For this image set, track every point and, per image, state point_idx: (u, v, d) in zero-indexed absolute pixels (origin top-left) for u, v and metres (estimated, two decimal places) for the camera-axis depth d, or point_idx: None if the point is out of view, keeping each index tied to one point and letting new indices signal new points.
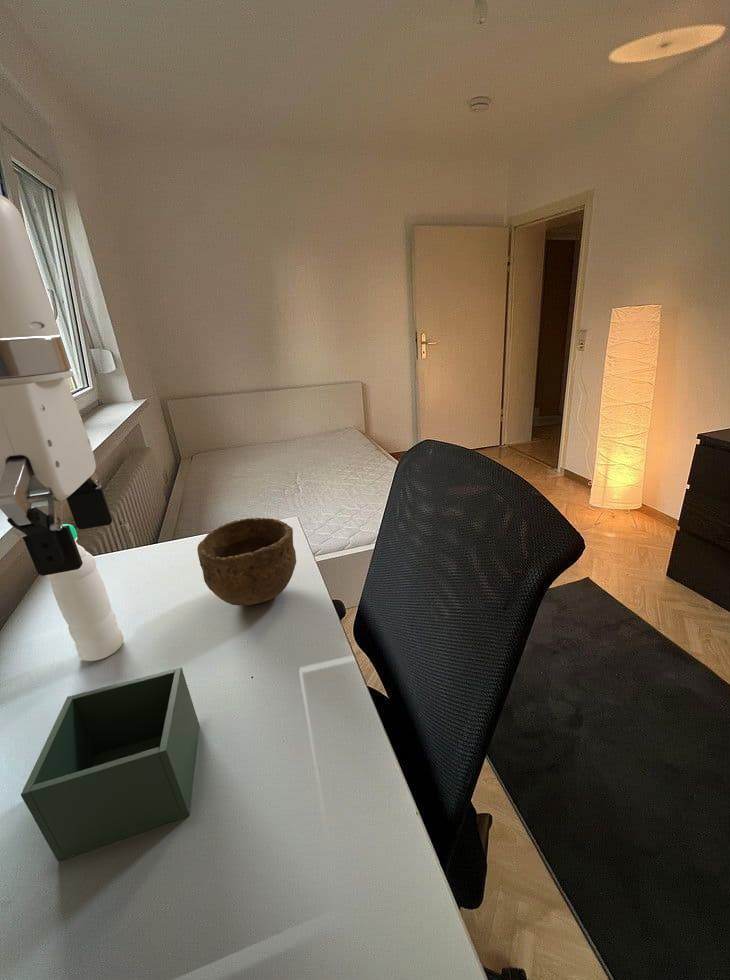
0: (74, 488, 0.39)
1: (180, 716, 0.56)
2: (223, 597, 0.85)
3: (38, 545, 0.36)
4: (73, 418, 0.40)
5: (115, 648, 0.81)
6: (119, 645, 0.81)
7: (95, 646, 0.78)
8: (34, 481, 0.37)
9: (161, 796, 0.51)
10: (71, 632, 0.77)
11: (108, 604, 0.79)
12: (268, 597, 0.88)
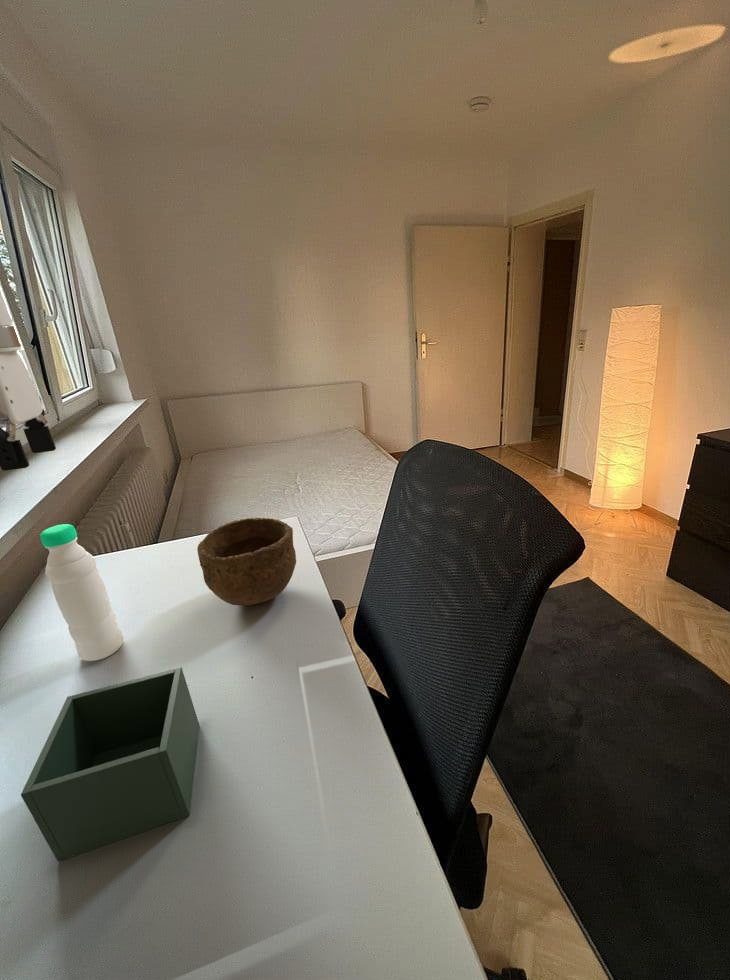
0: (24, 419, 0.64)
1: (180, 716, 0.56)
2: (223, 597, 0.85)
3: (0, 450, 0.61)
4: (24, 377, 0.65)
5: (115, 648, 0.81)
6: (119, 645, 0.81)
7: (95, 646, 0.78)
8: None
9: (161, 796, 0.51)
10: (71, 632, 0.77)
11: (108, 604, 0.79)
12: (268, 597, 0.88)
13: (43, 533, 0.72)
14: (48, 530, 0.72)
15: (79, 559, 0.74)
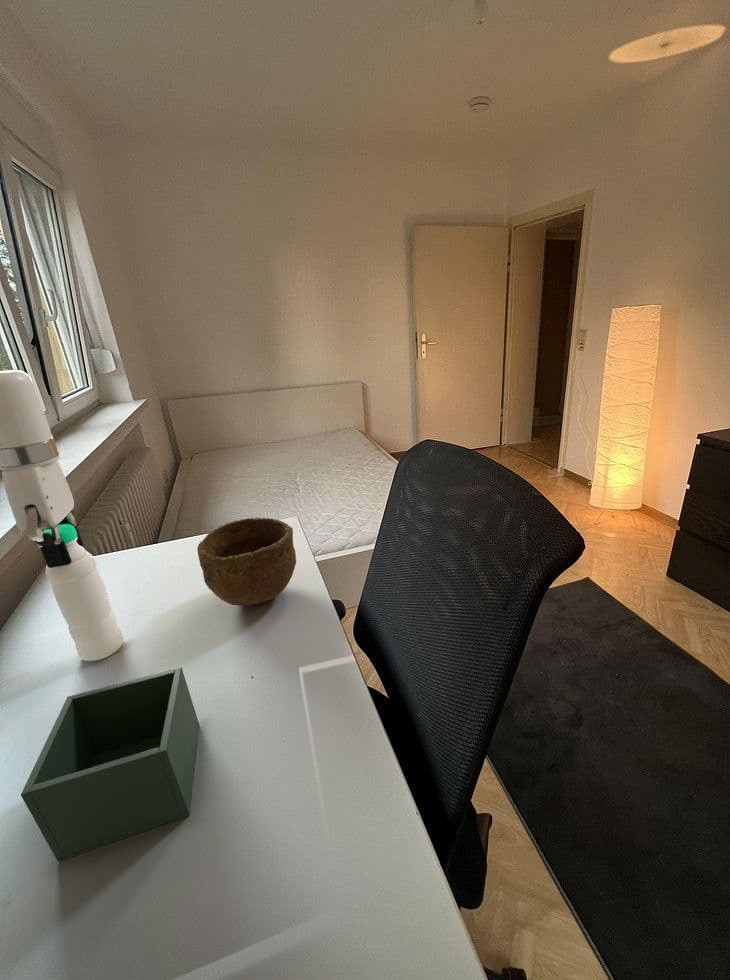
0: (60, 519, 0.71)
1: (180, 716, 0.56)
2: (223, 597, 0.85)
3: (48, 552, 0.70)
4: (60, 480, 0.72)
5: (115, 648, 0.81)
6: (119, 645, 0.81)
7: (95, 646, 0.78)
8: None
9: (161, 796, 0.51)
10: (71, 632, 0.77)
11: (108, 604, 0.79)
12: (268, 597, 0.88)
13: None
14: (48, 530, 0.72)
15: (80, 559, 0.74)
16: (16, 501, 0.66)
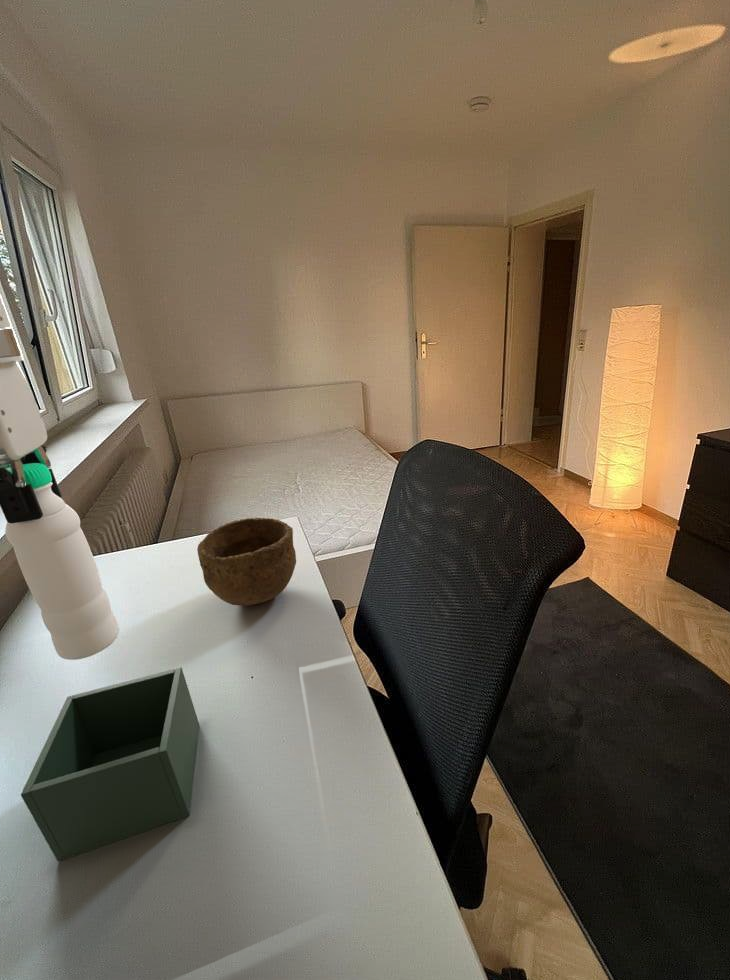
0: (25, 451, 0.48)
1: (180, 716, 0.56)
2: (223, 597, 0.85)
3: (6, 498, 0.47)
4: (25, 395, 0.49)
5: (108, 641, 0.58)
6: (113, 637, 0.59)
7: (80, 638, 0.55)
8: None
9: (161, 796, 0.51)
10: (45, 619, 0.54)
11: (98, 580, 0.57)
12: (268, 597, 0.88)
13: None
14: (9, 469, 0.50)
15: (56, 513, 0.52)
16: None
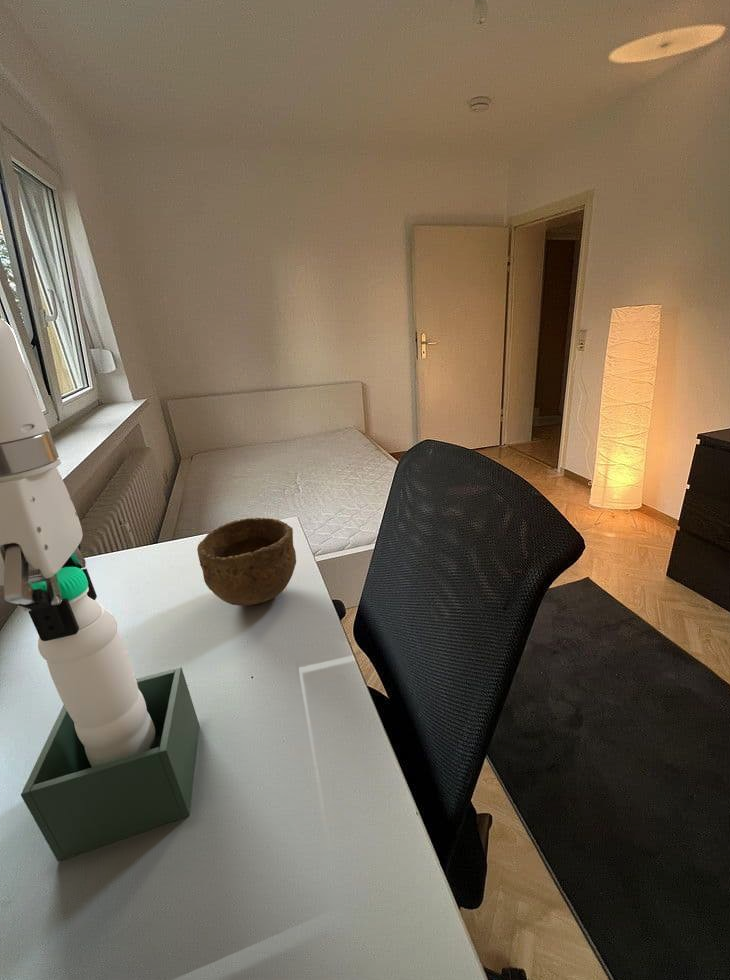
0: (62, 564, 0.43)
1: (180, 716, 0.56)
2: (223, 597, 0.85)
3: (41, 617, 0.43)
4: (61, 498, 0.45)
5: (145, 750, 0.53)
6: (150, 744, 0.54)
7: (115, 751, 0.51)
8: None
9: (161, 796, 0.51)
10: (79, 733, 0.49)
11: (135, 685, 0.52)
12: (268, 597, 0.88)
13: (34, 584, 0.44)
14: None
15: (92, 622, 0.47)
16: None
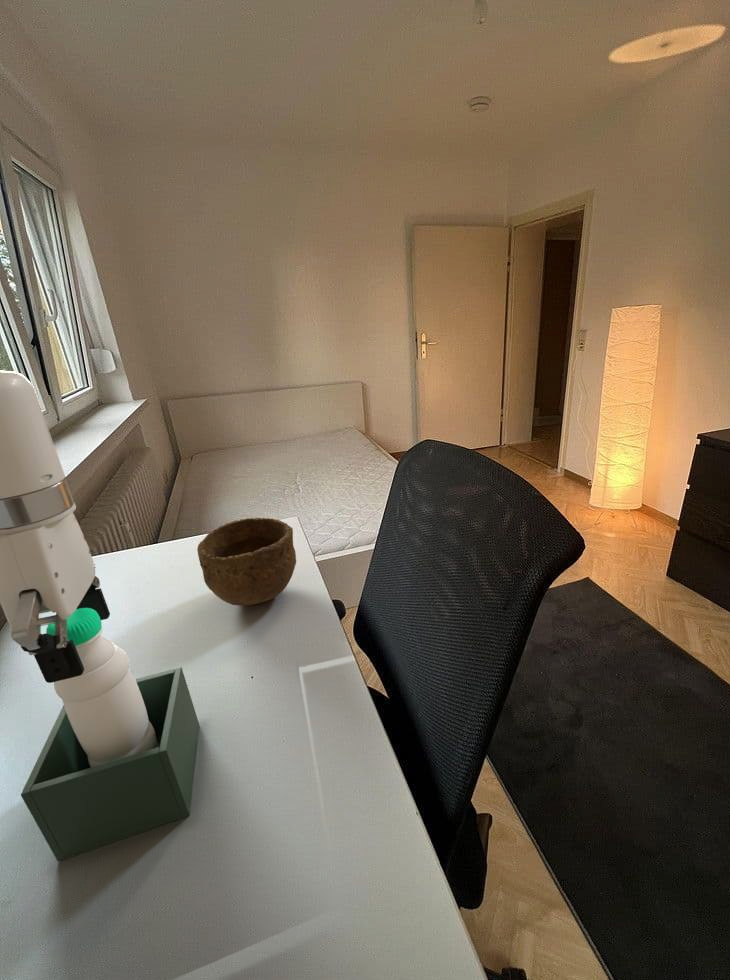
0: (77, 604, 0.45)
1: (180, 716, 0.56)
2: (223, 597, 0.85)
3: (46, 661, 0.42)
4: (76, 540, 0.46)
5: None
6: None
7: None
8: (43, 604, 0.43)
9: (161, 796, 0.51)
10: (93, 766, 0.51)
11: (145, 718, 0.54)
12: (268, 597, 0.88)
13: (51, 628, 0.46)
14: None
15: (106, 662, 0.49)
16: (6, 585, 0.40)
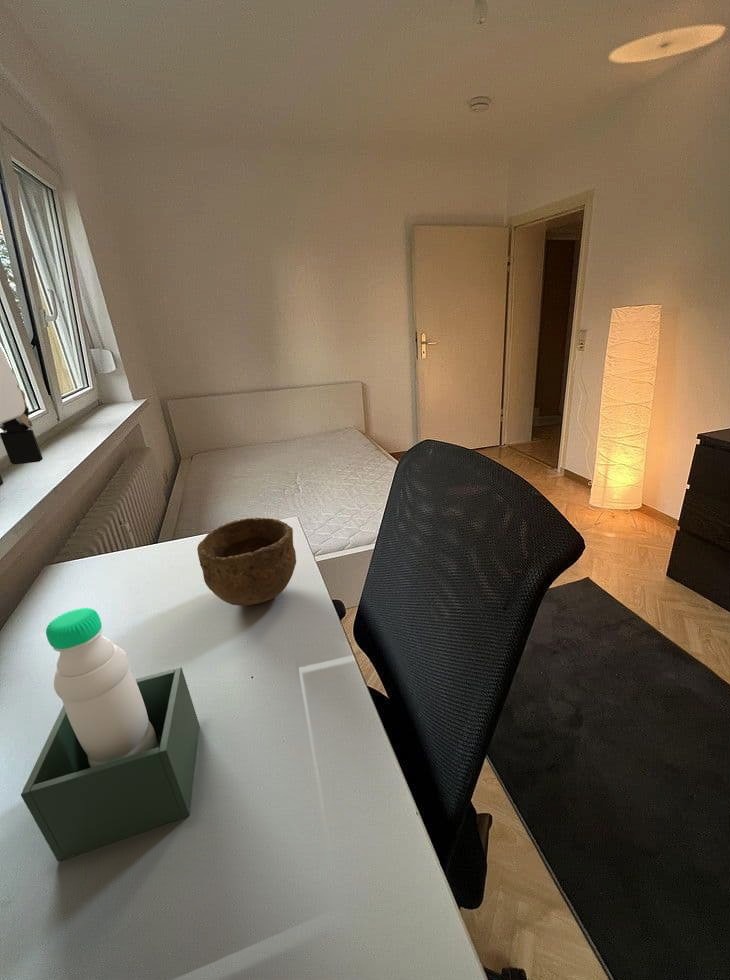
0: None
1: (180, 716, 0.56)
2: (223, 597, 0.85)
3: None
4: (0, 364, 0.48)
5: None
6: None
7: None
8: None
9: (161, 796, 0.51)
10: (93, 766, 0.51)
11: (145, 718, 0.54)
12: (268, 597, 0.88)
13: (51, 628, 0.46)
14: (58, 622, 0.47)
15: (106, 662, 0.49)
16: None
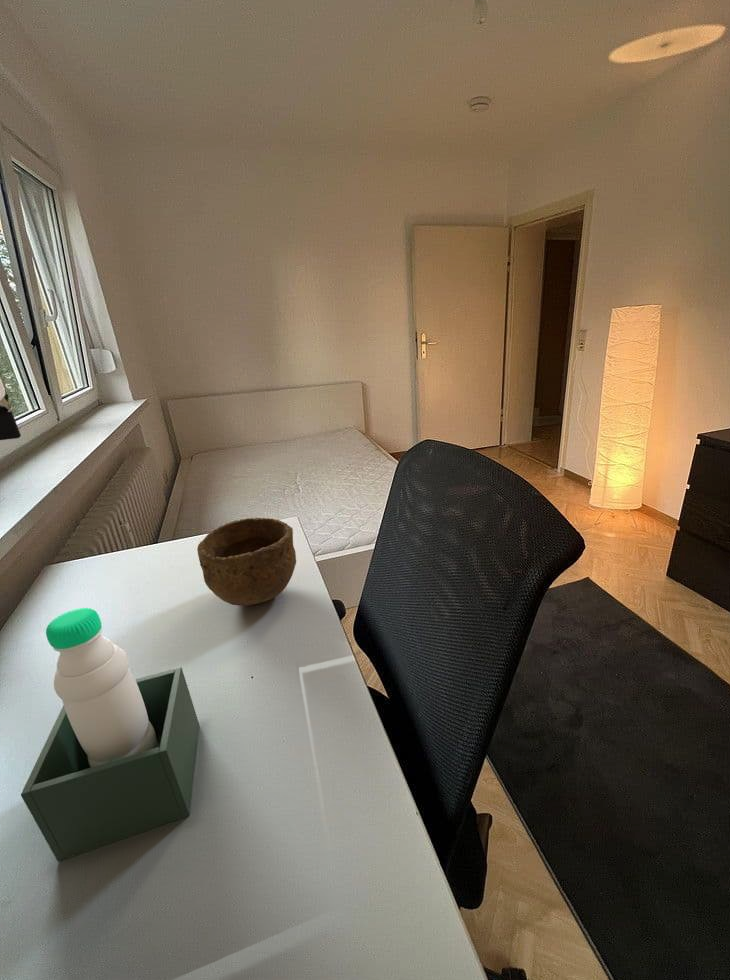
0: None
1: (180, 716, 0.56)
2: (223, 597, 0.85)
3: None
4: None
5: None
6: None
7: None
8: None
9: (161, 796, 0.51)
10: (93, 766, 0.51)
11: (145, 718, 0.54)
12: (268, 597, 0.88)
13: (51, 628, 0.46)
14: (58, 622, 0.47)
15: (106, 662, 0.49)
16: None
